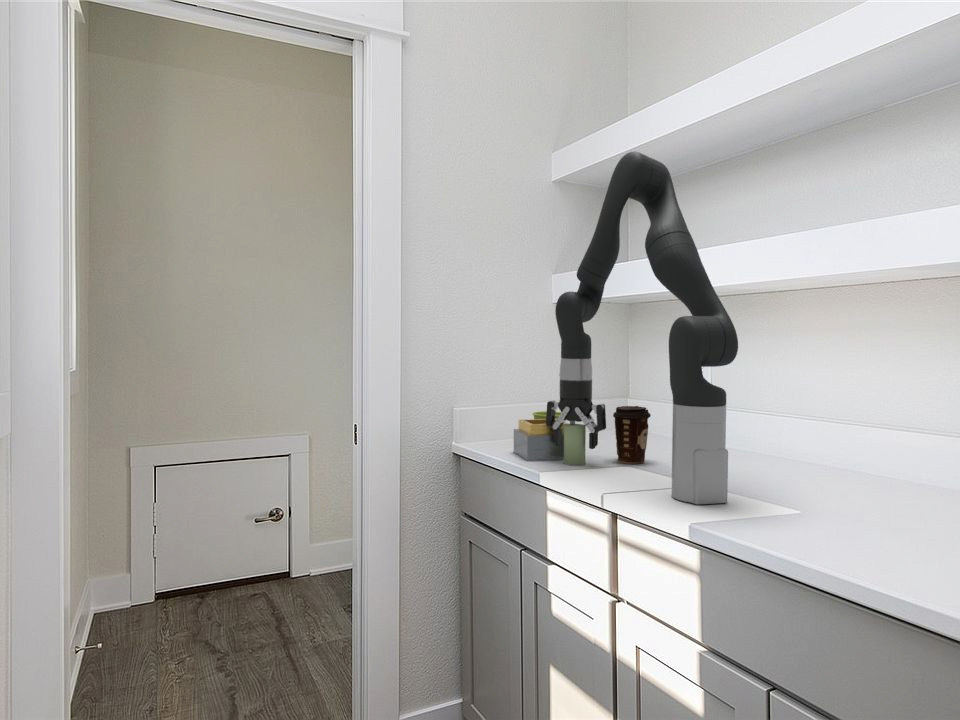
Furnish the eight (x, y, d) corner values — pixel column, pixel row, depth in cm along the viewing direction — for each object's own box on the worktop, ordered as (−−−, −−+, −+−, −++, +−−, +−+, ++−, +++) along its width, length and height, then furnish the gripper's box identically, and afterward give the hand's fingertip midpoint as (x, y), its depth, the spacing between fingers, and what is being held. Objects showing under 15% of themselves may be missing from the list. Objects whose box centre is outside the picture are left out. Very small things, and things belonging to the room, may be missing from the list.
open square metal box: (574, 459, 155) (574, 424, 155) (527, 461, 152) (527, 425, 152) (557, 450, 167) (558, 418, 166) (513, 452, 164) (513, 419, 164)
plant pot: (571, 443, 178) (571, 412, 178) (557, 448, 170) (557, 415, 170) (541, 440, 183) (541, 410, 183) (526, 445, 175) (526, 413, 175)
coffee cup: (647, 458, 155) (647, 405, 155) (653, 465, 147) (653, 409, 147) (611, 458, 156) (611, 405, 156) (614, 464, 148) (615, 408, 148)
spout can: (588, 465, 148) (589, 419, 147) (568, 465, 147) (568, 420, 146) (580, 460, 153) (580, 417, 152) (560, 461, 152) (560, 417, 151)
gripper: (610, 378, 148) (610, 447, 149) (555, 375, 156) (554, 441, 157) (598, 380, 142) (597, 452, 143) (541, 377, 150) (540, 446, 151)
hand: (575, 446), depth 150 cm, fingers open, 8 cm apart
